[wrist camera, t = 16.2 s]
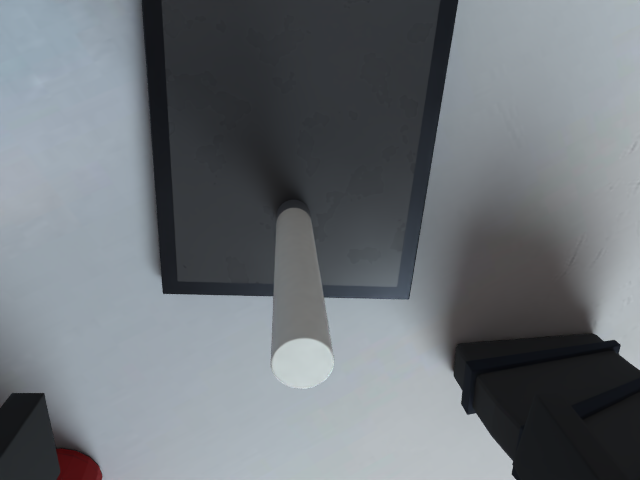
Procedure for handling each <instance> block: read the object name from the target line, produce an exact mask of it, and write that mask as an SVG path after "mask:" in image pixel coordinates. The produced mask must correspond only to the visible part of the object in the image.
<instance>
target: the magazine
mask: <svg viewBox="0 0 640 480" xmlns="http://www.w3.org/2000/svg"><path fill="white" fill-rule="evenodd" d="M620 346H621V345H620V344H619V343H618V342H617V341H615V340H611V341H603V340H602V339H600V338H599V337H598V336H597V335H595V334H581V335H568V336H555V337H542V338H529V339H516V340H503V341H490V342H477V343H464V344H458V345H457V347H456V356H455V366H454V377H455V379H456V381H457V382H458V384H459V386H460V387H461V389H462V391H463V392H462V401H461V404H462V406H463V408H464V410H465V411H466V413H467V414H468V415H469V414H474V413H476V414H477V415H478V417H479V418H480V419H481V421H482V422H483V424H484V425H485V427H486V428H487V430H488V431H489V433H490V434H491V436H492V437H493V438H494V439H495V441H496V442H497V443H498V444H499V445H500V446H501V448H502V449H503V450H504V451H505V452H506V453H507V455H508V456H509V457H510V458H511V459H512V460H513V461H514V458H515V455H516V451H517V448H518V445H519V442H520V439H521V436H522V433H523V430H524V426H525V423H526V420H527V417H528V414H529V411H530V408H531V405H532V402H533V398H534V395H535V393H561V394H562V395H563V397H564V398H565V399H566V400H567V402H568V403H569V404H570V405H571V407H572V408H573V409H574V410H575V412H576V413H577V414H578V415H579V416H580V418H581V419H582V420H583V421H584V423H585V424H586V425H587V426H588V428H589V429H590V430H591V431H592V433H593V434H594V435H595V436H596V438H597V439H598V440H599V441H600V442H601V444H602V445H603V446H604V447H605V449H606V450H607V451H608V452H609V454H610V455H611V456H612V457H613V459H614V460H615V461H616V462H617V464H618V465H619V466H620V467H621V469H622V470H623V471H624V472H625V473H626V475H627V476H628V477H629V478H630V480H640V370H638V369H637V368H636V367H634V366H633V365H632V364H630V363H629V362H628V361H626V360H625V359H624V358H623V357H621V356H620V355H619V350H620ZM512 475H513V476H514V477H515V479H516V480H521V479H520V477H519V476H518V474H517V472H516V470H515V468H514V467H513V470H512Z"/></svg>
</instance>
